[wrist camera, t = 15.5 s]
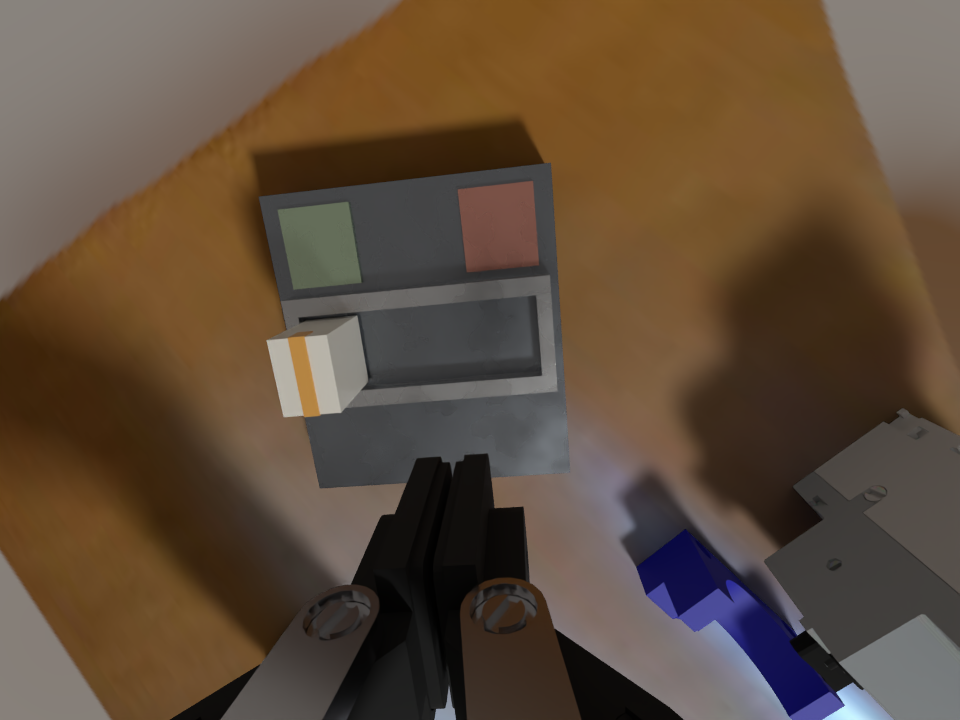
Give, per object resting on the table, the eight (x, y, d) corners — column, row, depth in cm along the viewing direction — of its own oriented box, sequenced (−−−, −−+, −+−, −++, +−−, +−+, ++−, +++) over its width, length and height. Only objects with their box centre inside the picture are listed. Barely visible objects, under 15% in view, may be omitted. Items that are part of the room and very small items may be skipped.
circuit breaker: (717, 539, 35) (859, 762, 21) (902, 407, 32) (1223, 564, 18) (782, 606, 36) (960, 861, 22) (968, 486, 33) (1319, 693, 19)
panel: (565, 450, 34) (571, 480, 30) (335, 466, 35) (314, 496, 32) (547, 168, 29) (552, 160, 26) (282, 198, 31) (249, 196, 27)
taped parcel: (368, 382, 30) (340, 414, 25) (319, 386, 30) (283, 418, 25) (357, 314, 29) (325, 334, 24) (306, 319, 29) (265, 339, 24)
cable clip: (635, 565, 36) (658, 631, 31) (684, 527, 35) (718, 588, 30) (743, 662, 38) (784, 742, 32) (793, 629, 37) (844, 705, 31)
